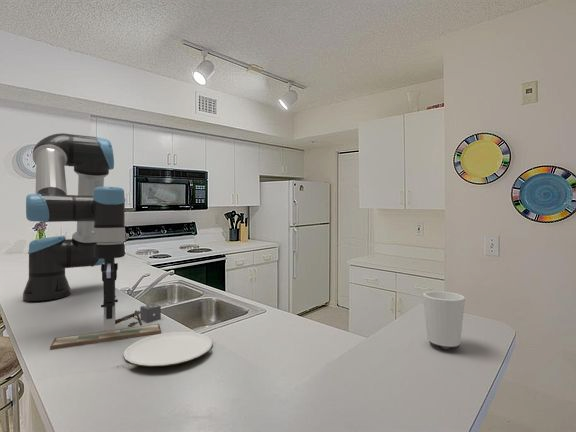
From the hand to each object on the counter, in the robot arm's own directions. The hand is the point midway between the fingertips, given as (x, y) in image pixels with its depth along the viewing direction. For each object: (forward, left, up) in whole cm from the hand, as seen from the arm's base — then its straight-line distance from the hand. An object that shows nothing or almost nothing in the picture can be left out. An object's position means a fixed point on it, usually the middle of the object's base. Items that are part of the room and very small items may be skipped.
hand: (109, 328), depth 91 cm
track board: (0, 0, -2) cm, 2 cm away
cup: (+44, +78, -3) cm, 90 cm away
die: (-11, +11, -2) cm, 16 cm away
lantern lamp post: (0, 0, 0) cm, 0 cm away
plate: (+16, +14, -3) cm, 21 cm away
